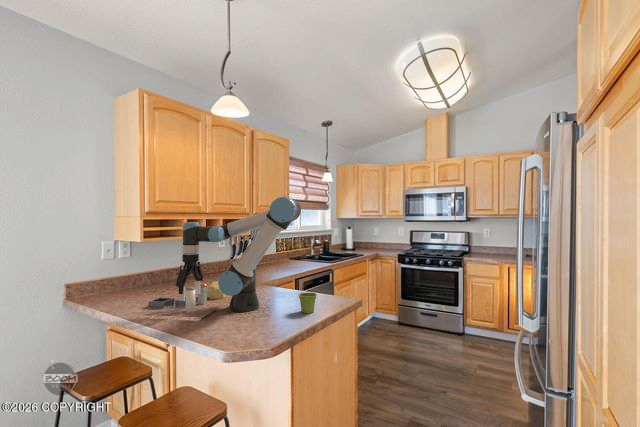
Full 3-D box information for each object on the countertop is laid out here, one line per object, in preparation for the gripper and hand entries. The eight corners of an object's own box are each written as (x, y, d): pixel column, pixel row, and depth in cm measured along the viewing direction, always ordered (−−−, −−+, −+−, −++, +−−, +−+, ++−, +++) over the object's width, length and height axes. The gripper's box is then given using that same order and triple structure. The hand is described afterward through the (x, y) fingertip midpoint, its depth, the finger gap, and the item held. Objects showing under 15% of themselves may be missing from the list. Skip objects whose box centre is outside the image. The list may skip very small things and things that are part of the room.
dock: (198, 304, 172) (198, 296, 172) (183, 312, 158) (183, 303, 158) (164, 303, 175) (164, 295, 175) (147, 310, 161) (147, 301, 162)
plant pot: (299, 309, 164) (299, 292, 164) (317, 309, 163) (317, 292, 163) (297, 314, 154) (297, 296, 154) (316, 314, 154) (316, 296, 154)
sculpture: (213, 303, 175) (213, 283, 175) (203, 299, 183) (203, 280, 183) (232, 299, 183) (232, 280, 184) (221, 296, 192) (221, 278, 192)
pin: (208, 305, 170) (208, 283, 170) (204, 307, 166) (204, 285, 166) (201, 305, 171) (201, 283, 171) (196, 307, 167) (196, 284, 167)
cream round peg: (197, 312, 157) (197, 286, 158) (192, 315, 153) (192, 288, 153) (188, 312, 158) (189, 286, 158) (183, 315, 154) (183, 288, 154)
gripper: (197, 250, 169) (196, 290, 169) (167, 256, 144) (166, 303, 144) (210, 251, 168) (209, 291, 167) (182, 256, 143) (182, 304, 143)
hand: (189, 297), depth 156 cm, fingers open, 13 cm apart
